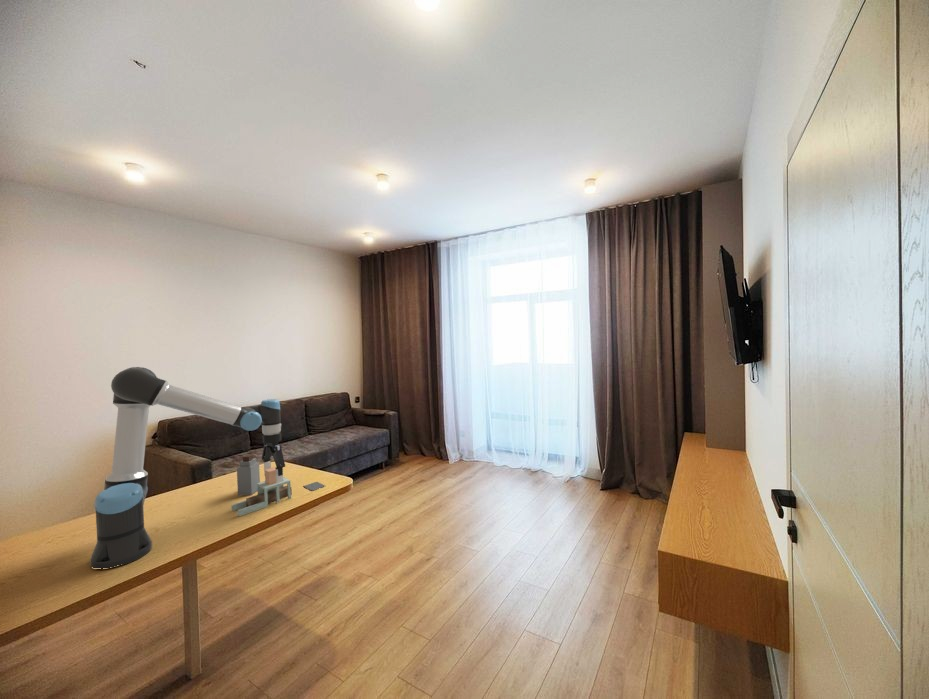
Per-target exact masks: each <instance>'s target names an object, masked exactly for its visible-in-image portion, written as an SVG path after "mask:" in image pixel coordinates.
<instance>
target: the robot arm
mask: <svg viewBox="0 0 929 699" xmlns="http://www.w3.org/2000/svg"><path fill="white" fill-rule="evenodd" d="M110 386H111V387H110V388H111V390H112V391H111V392H112V393H113V398H112V404H113V405H114V406H115V407H116V408H117V418H116V428H115V437H114V446H113V447H114V448H113V455H112V456H113V458H112V465H111V472H110V474H109V475H107V476H106V477H105V480H104V487H103V488H104V489H103V490H102V491H100V492H99V493H98V494H97V495H96V497H95V501H94V505H93V506H94V509H95V525H96V526H95V527H96V543H95V546H94V549H93V553H92V554H91V557H90V560H89V561H90V568H91V567H93V568H101V569H103V568H110V567H114V566H117V565H121V564H125V565H127V564H126V563H128V564H130V563H133V562H135V561H136V560H139V559H141V558H143V557H144V556H146V555H147V554H149V552H150V551H151V550H152V548H153V544H152V538H151V537H150V535H149V533H148V531H147V530H146V528H145V518H144V517H145V514H144V511H145V510H144V505H145V500H146V497H147V495H148V490H149V487H148V479H149V478H148V477H149V473H148V471H146V470H145V469H144V464H145V456H146V455H145V454H146V445H147V444H146V443H147V441H146V440H147V432H148V423H149V422H148V420H149V412H150V410H149V409H150V407H151V406H157V405H158V406H162V407H163V406H164V407H166V408H171V409H174V410H178V411H182V412H185V413H189V414H191V415H196V416H199V417H203V418H206V419H210V420H212V421H213V420H214V421H217V422H221V423H225V424H228V425H231V426H234V427H238V428H242V429H243V430H245V431H249V432H250V431H251V432H252V431H255V430H257V429H258V428H260V426H261V432H262V434H263V435H262V444H263V448H262V455H261V460H262V461H263V469H264V470H263V471H264V472H263V473H264V475H263V476H264V477H265V470H266V469H270V468H272V464H271V461H272V457H273V461H274V463H275V467H276V468H275V469H276V483H280V482H283V477H284V468H285V467H286V463H285V459H284V454H283V451H282V450H283V449H282V445H281V444H279V442H281V441H282V432H281V431H282V425H283V424H282V423H281V421H282V420H281V405H280V404H281V402H280V400H279V399H276V398H268V399H264V400H262V401H261V402H260V404H259V405H251V406H243V407H241V406H238V405H235V404H232V403H230V402H227V401H222V400H219V399H216V398H213V397H211V396H210V397H209V396H206V395H205V394H204V395H203V394H200V393H197V392H194V391H190V390H187V389H184V388H181V387H177V386H174V385H172V384H169V382H168V381H167V380H165V379H162V378H160V377H158V376H157V375H156V373H155V372H153V370H151V369H149V368H146V367H141V366H132V367H129V368H128V367H127V368H126V369H123V370H121V371H119V372H118V373H117V374H116V375H115V376H114V377H113V378H112V380H111V384H110ZM132 561H133V562H132ZM129 562H130V563H129Z"/></svg>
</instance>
